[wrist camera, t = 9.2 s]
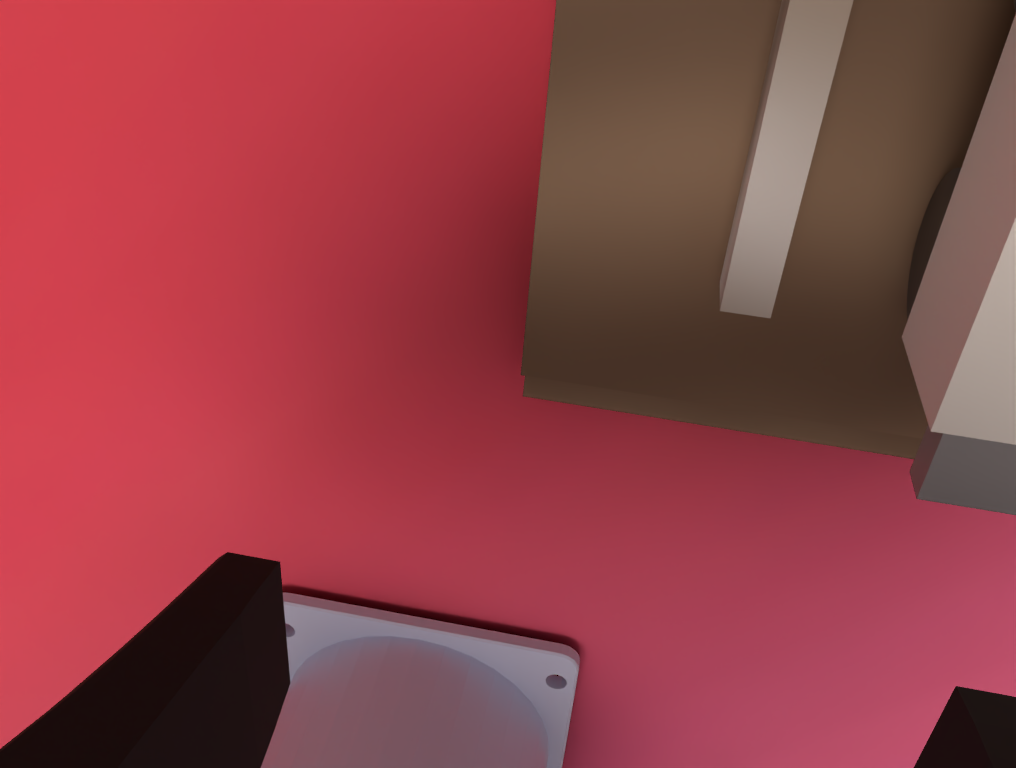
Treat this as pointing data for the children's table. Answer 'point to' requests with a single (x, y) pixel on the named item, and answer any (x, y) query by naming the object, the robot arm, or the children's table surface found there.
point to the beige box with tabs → (969, 315)
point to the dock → (747, 207)
